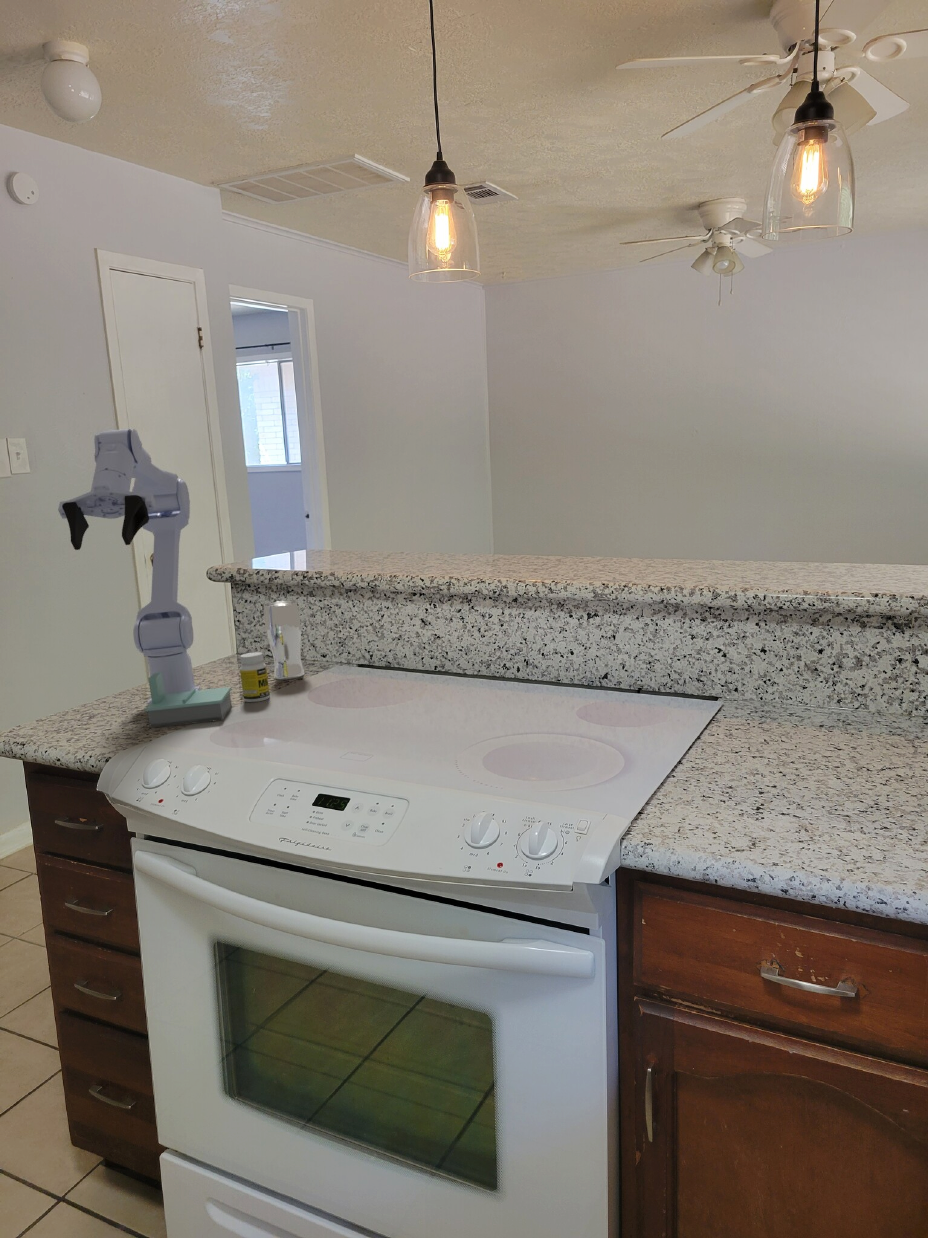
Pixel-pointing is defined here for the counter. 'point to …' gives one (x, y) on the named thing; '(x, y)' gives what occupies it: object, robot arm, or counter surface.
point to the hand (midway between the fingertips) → (100, 542)
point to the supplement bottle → (254, 677)
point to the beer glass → (284, 638)
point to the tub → (189, 714)
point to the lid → (182, 696)
